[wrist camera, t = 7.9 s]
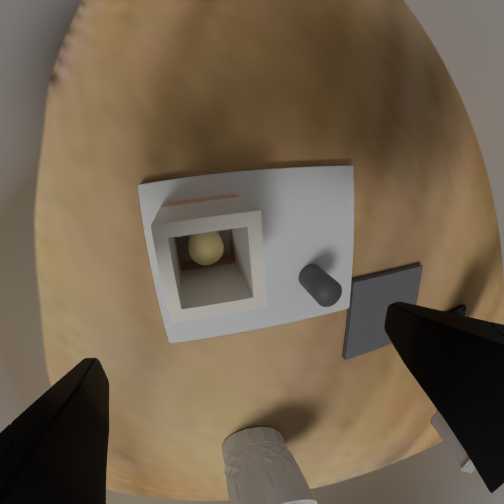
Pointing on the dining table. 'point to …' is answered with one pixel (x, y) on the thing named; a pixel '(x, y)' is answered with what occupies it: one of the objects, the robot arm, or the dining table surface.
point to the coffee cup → (452, 443)
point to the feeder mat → (376, 307)
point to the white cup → (263, 469)
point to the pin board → (269, 242)
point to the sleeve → (219, 273)
